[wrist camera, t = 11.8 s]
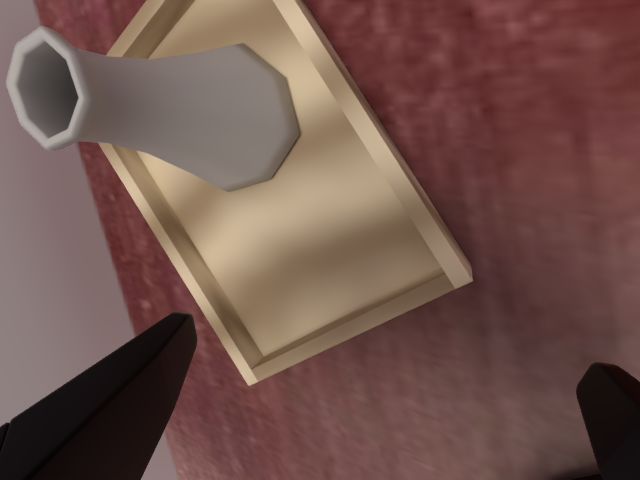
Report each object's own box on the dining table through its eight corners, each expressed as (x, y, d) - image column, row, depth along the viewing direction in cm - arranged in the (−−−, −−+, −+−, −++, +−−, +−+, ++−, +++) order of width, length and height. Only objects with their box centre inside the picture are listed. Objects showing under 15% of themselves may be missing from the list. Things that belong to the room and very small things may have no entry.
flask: (228, 213, 21) (49, 255, 12) (164, 108, 21) (-64, 69, 12) (325, 139, 18) (184, 119, 9) (249, 16, 18) (33, -129, 9)
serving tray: (471, 265, 18) (473, 281, 15) (269, 363, 23) (248, 386, 21) (256, -74, 18) (226, -108, 16) (109, 106, 24) (72, 101, 21)
